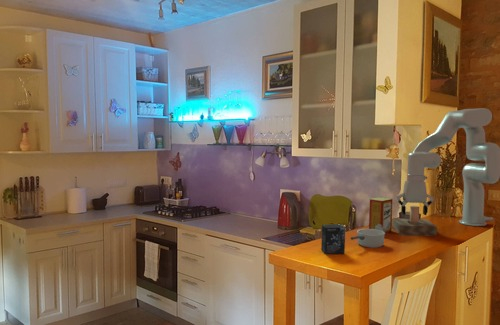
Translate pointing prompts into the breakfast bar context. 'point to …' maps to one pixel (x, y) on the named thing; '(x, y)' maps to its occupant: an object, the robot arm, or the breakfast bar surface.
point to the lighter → (379, 227)
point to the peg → (414, 214)
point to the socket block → (414, 227)
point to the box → (333, 239)
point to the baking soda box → (380, 212)
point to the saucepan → (370, 238)
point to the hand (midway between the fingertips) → (414, 214)
